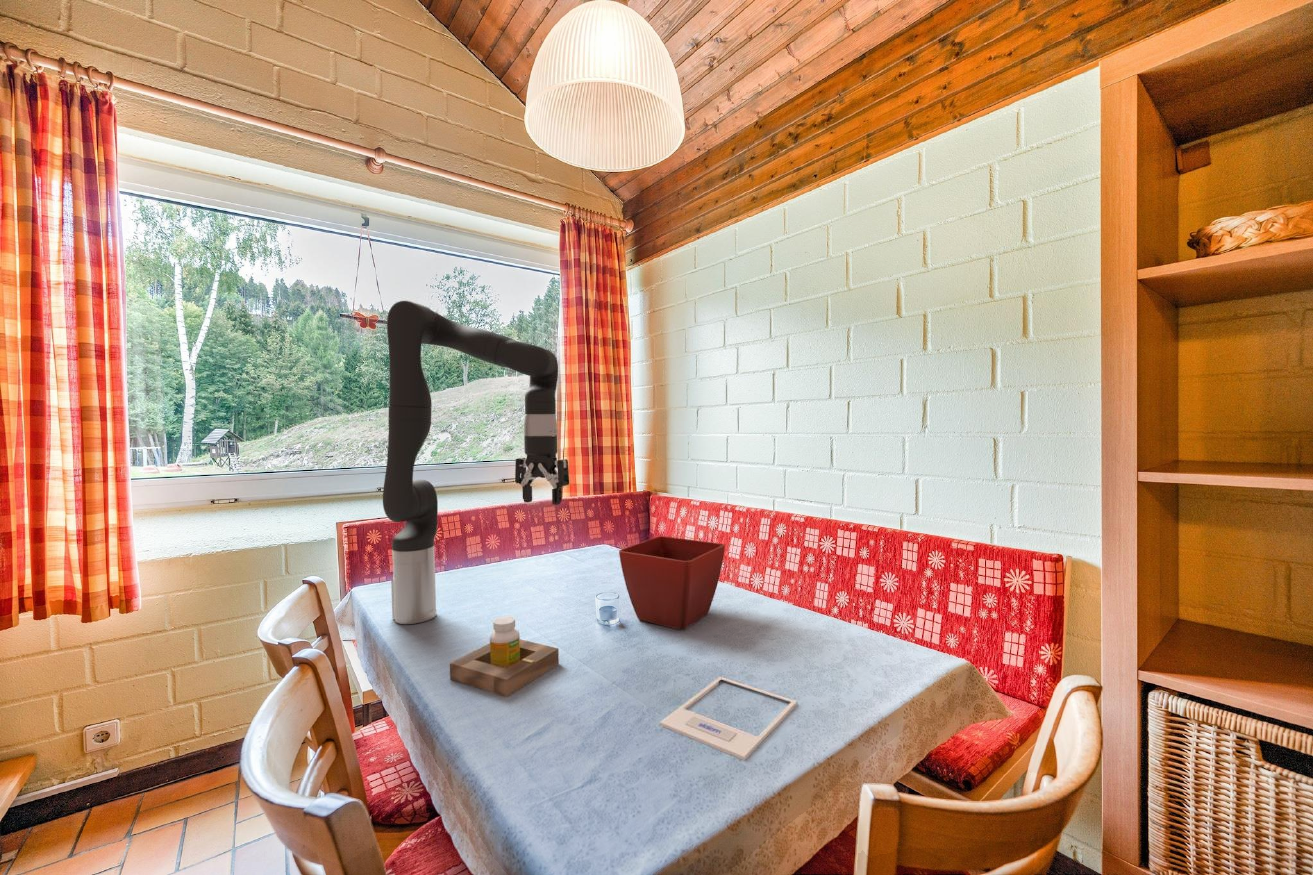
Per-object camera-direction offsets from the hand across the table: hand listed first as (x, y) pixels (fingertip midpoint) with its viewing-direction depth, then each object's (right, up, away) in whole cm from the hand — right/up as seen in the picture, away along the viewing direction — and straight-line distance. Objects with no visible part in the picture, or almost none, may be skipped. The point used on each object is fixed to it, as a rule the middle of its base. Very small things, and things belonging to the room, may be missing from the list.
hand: (542, 503), depth 126 cm
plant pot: (+31, -28, +3) cm, 42 cm away
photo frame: (+39, -29, -40) cm, 63 cm away
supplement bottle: (-2, -29, -24) cm, 38 cm away
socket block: (-2, -29, -24) cm, 38 cm away
